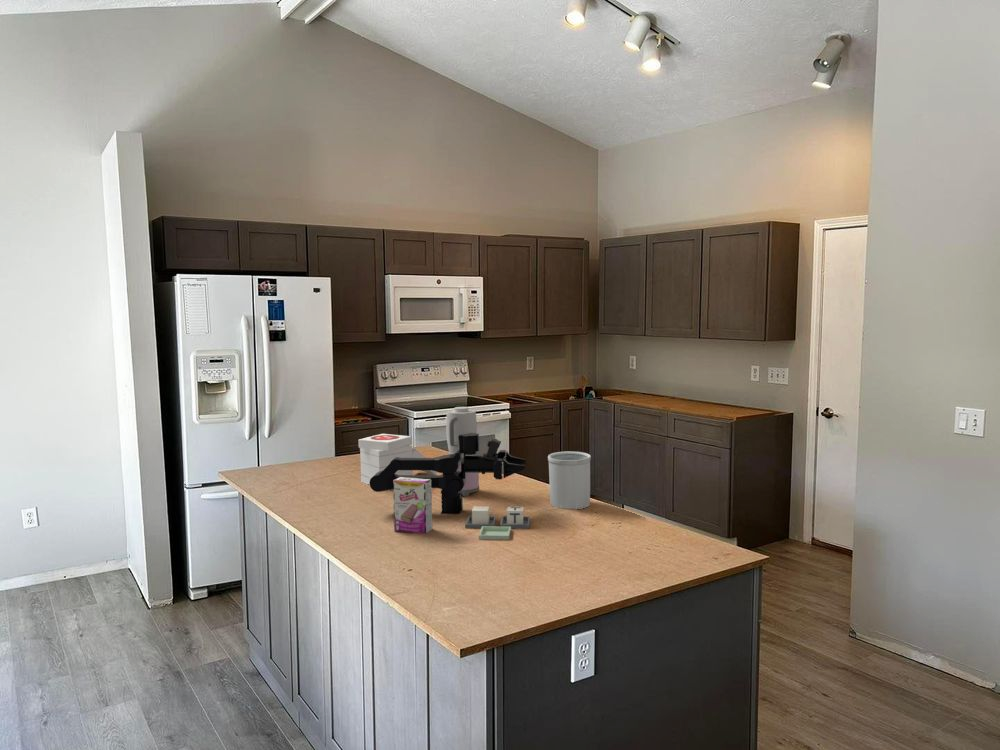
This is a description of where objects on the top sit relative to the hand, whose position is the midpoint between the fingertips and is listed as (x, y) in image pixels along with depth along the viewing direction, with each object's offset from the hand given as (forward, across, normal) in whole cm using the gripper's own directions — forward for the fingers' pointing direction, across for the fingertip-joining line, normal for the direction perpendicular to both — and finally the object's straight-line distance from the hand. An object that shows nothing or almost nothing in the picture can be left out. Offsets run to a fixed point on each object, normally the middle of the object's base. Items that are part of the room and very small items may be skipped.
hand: (525, 464), depth 249 cm
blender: (-25, +25, +17) cm, 39 cm away
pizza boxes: (-53, +45, +17) cm, 72 cm away
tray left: (-14, -14, +17) cm, 26 cm away
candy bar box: (-34, -21, +17) cm, 44 cm away
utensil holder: (+15, +10, +17) cm, 24 cm away
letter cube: (-3, -14, +16) cm, 22 cm away
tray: (-8, -26, +16) cm, 31 cm away
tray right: (-3, -14, +16) cm, 22 cm away
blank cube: (-14, -14, +16) cm, 26 cm away
